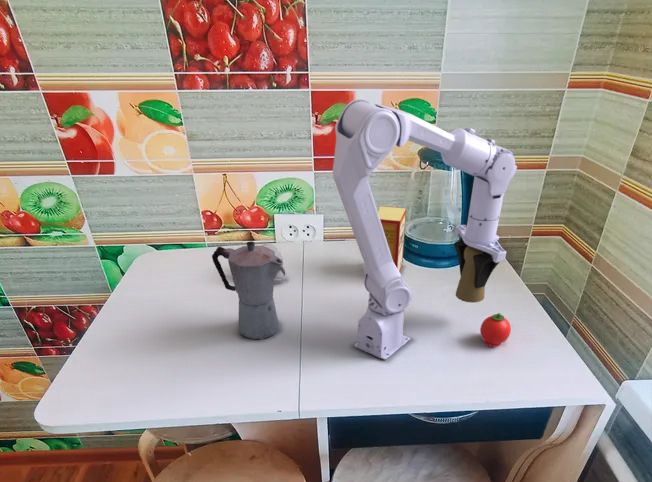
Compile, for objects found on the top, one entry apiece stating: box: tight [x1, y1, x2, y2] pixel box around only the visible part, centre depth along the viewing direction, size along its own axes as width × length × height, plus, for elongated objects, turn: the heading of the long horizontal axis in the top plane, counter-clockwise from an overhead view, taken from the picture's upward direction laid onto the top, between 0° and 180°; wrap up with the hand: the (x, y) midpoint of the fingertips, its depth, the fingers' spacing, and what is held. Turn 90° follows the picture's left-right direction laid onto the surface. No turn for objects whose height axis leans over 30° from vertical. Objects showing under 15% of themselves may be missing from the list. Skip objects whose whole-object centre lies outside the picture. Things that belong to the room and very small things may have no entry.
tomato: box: [479, 312, 512, 348], centre depth 95 cm, size 6×6×7 cm
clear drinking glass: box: [260, 242, 287, 285], centre depth 118 cm, size 11×8×8 cm
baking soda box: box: [377, 205, 407, 273], centre depth 118 cm, size 10×6×16 cm
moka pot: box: [211, 241, 284, 340], centre depth 95 cm, size 10×15×20 cm, turn 78°
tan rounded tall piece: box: [455, 246, 486, 303], centre depth 95 cm, size 6×6×11 cm
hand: (472, 280), depth 96 cm, fingers closed on tan rounded tall piece, 5 cm apart
